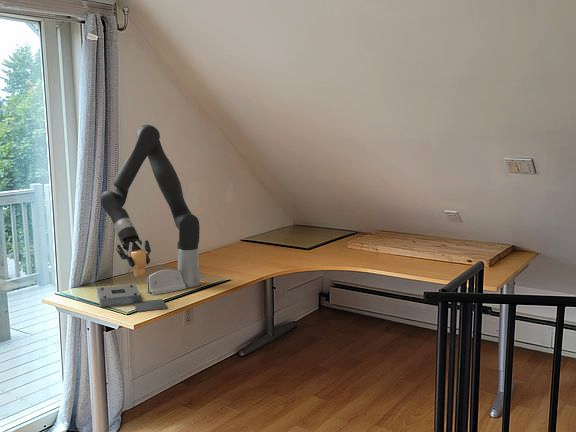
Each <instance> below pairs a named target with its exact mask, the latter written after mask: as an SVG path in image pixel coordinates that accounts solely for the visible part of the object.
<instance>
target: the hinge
mask: <svg viewBox="0 0 576 432" xmlns="http://www.w3.org/2000/svg"><path fill="white" fill-rule="evenodd" d="M146 287H147V288H146V289H147V290H146V291H147V294H149V293H151V296H156V295H155V294H157V295H160V294H161V293H162V294H165V293H167V294H168V293H171V292H176V291H179V290H180V291H181V290H182V291H183V290H185V289H187V288H186V285H185V283H184V281H183V278H182V275H181V272H180V271H178V269H161V270H158V271H156V272H154V273H151V274H149V275H148V276H147V277H146ZM162 294H161V295H162Z"/></svg>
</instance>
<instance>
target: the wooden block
mask: <svg viewBox="0 0 576 432" xmlns="http://www.w3.org/2000/svg"><path fill="white" fill-rule="evenodd" d="M131 257H132V259H133V261H134V263H135V266H134V267H133V276H134V277H135V278H137V277H138V278H141V277H145V276H146V269H145V267H147V265H148V264H147V263H146V250H141V249H140V250H134V251H132V252H131Z"/></svg>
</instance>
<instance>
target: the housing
mask: <svg viewBox="0 0 576 432" xmlns="http://www.w3.org/2000/svg"><path fill="white" fill-rule="evenodd" d="M96 293H97V295H96V296H97V299H98V303H99V307H100V308H108V307H116V306H117V305H118V306H126V305H125V304H128V305H133V304H132V303H136V302H141V301H142V298H141V297H142V296H141V293H140V291H139V289H138V287H137V284H126V285H116V286H114V285H113V286H106V287H103V286H101V287H97V288H96ZM118 306H117V307H118Z"/></svg>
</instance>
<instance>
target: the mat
mask: <svg viewBox="0 0 576 432" xmlns="http://www.w3.org/2000/svg"><path fill="white" fill-rule="evenodd" d="M134 305H135V306H134ZM133 306H134V308H135V307H136V308H135V311H136V312H137V313H141V312H143V313H144V312H150V311H162V310H168V309H169V307H168V305H167V304H166V302H165V300H164V299H163V298H159V299H158V298H157V299H149V300H141V302H136V303H134V304H133Z"/></svg>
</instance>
